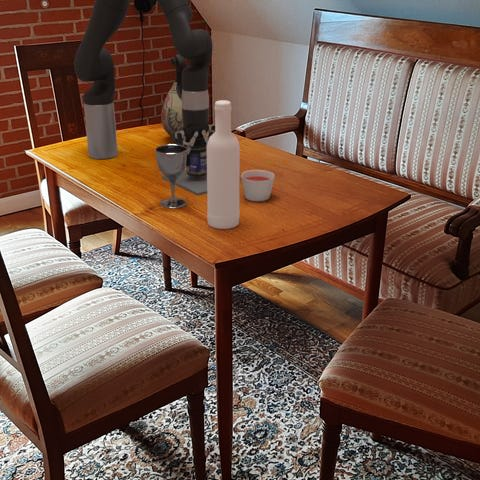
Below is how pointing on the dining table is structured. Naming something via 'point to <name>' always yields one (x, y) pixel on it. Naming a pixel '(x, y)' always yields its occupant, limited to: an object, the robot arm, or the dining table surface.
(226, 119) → the bottle
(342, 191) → the dining table surface
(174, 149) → the wine glass
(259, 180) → the candle
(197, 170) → the pill bottle
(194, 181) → the place mat
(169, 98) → the ceramic jug
